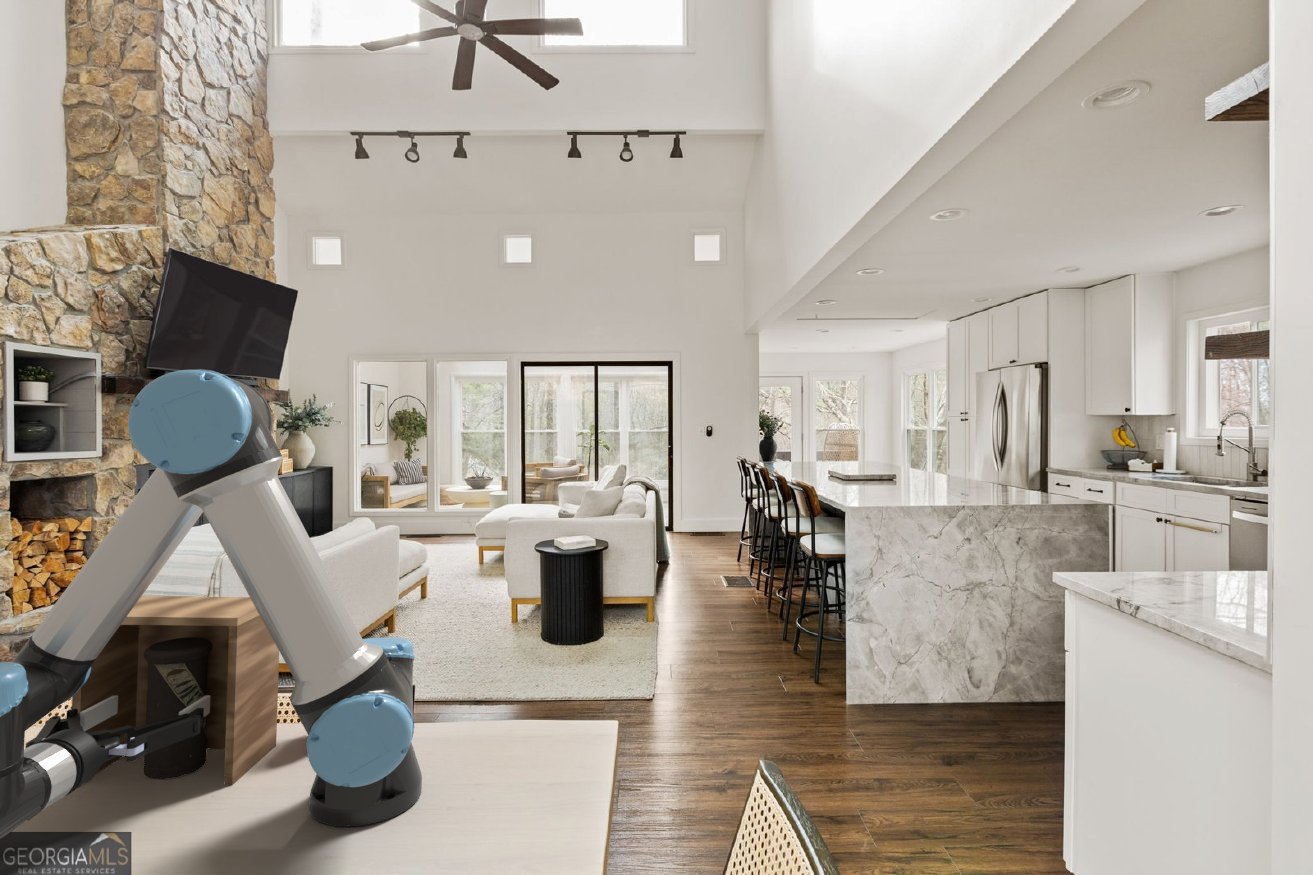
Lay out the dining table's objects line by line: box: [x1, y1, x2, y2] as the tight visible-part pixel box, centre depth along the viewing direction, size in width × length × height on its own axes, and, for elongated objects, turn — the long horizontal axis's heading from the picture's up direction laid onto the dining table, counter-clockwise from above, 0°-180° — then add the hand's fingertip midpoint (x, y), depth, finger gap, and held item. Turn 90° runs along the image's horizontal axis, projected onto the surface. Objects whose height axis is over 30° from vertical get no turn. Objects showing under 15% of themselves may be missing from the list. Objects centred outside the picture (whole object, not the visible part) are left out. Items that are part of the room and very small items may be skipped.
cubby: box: [71, 595, 280, 786], centre depth 108 cm, size 23×13×25 cm, turn 94°
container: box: [143, 637, 213, 780], centre depth 107 cm, size 9×9×20 cm
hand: (161, 704), depth 104 cm, fingers open, 13 cm apart
